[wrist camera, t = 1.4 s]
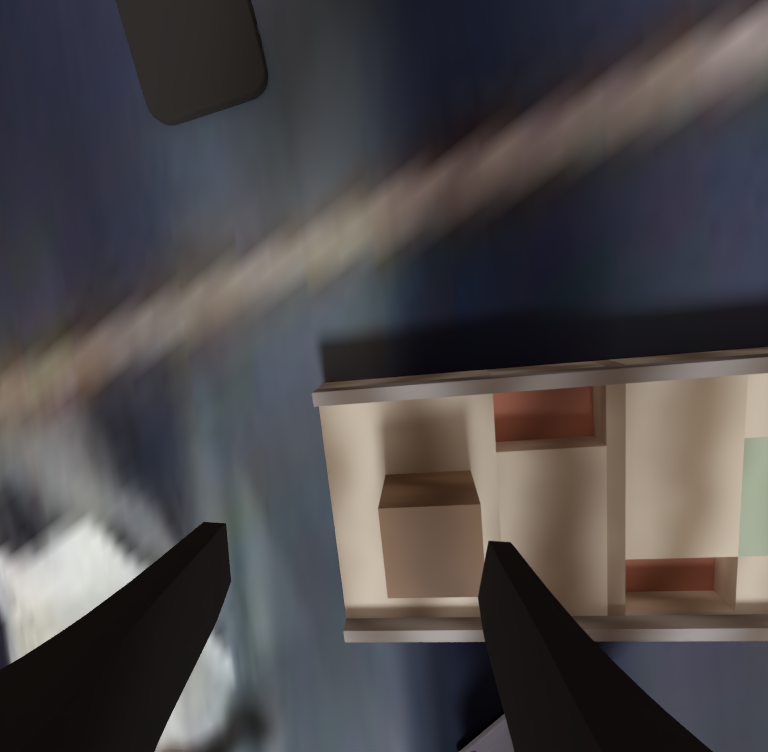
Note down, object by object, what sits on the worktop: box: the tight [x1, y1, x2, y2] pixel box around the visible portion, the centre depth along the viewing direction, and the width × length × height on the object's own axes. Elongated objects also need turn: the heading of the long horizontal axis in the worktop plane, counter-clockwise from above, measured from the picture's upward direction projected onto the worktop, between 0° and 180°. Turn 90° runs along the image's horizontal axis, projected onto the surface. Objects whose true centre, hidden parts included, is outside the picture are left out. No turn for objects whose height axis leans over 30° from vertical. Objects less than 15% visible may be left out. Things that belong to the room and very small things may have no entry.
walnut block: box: [378, 470, 484, 598], centre depth 21 cm, size 5×5×4 cm
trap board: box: [312, 347, 768, 642], centre depth 23 cm, size 31×16×3 cm, turn 96°
